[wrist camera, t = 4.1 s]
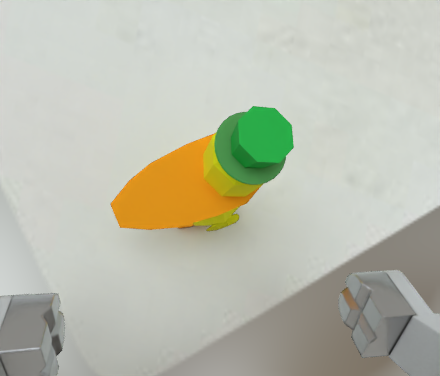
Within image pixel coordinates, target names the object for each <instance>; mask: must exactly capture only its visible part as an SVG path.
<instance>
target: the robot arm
mask: <svg viewBox="0 0 440 376" xmlns="http://www.w3.org/2000/svg"><path fill="white" fill-rule="evenodd" d="M345 283H346V285H347V286H348V287H347V288H346V289H344V290H343V291H342V292H341V294H340V297H339V300H338V304H339V312H340V315H341V318H342V320H343V322H344V324H346V325H347V326H348V327H350V328H351V329H352V330H353V331H352V336H351V338H352V340H353V341H354V343H355V345H356V347H357V349H358V351H359V353H360V355H361V357H362V358H366V357H377V356H389V358H390V359H391V360H393V361H394V362H395V363H396V364H397V365H398V366H399V367H400V368H401V369H403V370H404V371H405V372H406V373H407V374H408V375H409V376H440V314H439V313H438V314H434V313H433V312H432V311H431V309H430V308H429V307H428V305H427V304H426V303H425V302H424V300H423V299H422V298H421V296H420V295H419V294H418V292H417V291H416V290H415V288H414V287H413V286H412V284H411V283H410V282H409V281H408V279H407V278H406V277H405V275H404V274H403V273H402V272H401V271H399V270H388V271H371V272H359V273H351V274H350V275H348V276H347V279H346V281H345ZM59 307H60V298H59V295H58V294H57V293H50V294H30V295H29V294H27V295H11V296H10V295H8V296H0V376H57V374H58V369H59V365H58V361H57V357H56V356H57V355H58V354H59V353H60V352H61V351H62V347H63V343H64V333H65V322H64V316H63V313H62V312H60V311H59Z"/></svg>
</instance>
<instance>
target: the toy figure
mask: <svg viewBox="0 0 440 376" xmlns="http://www.w3.org/2000/svg"><path fill="white" fill-rule="evenodd" d="M293 148H294V146H293V135H292V125H291V124H290V123H289V122H288V121H287V120H286V119H285V118H284V117H283V116H282V115H281V114H280V113H279V112H278V111H277V110H276V109H275V108H266V107H256V106H253V107H252V108H251V109H250V110H249V111H248V112H241V113H236V114H234V115H232V116H230V117H228V118H227V119H226V120H225V121H223V123H222V124H221V125H220V127H219V128H218V130H217V132H216V133H215V134H212V135H209V136H207V137H204V138H202V139H199V140H196V141H194V142H191V143H189V144H186V145H184V146H182V147H180V148H178V149H177V150H175V151H173V152H171V153H169V154H167V155H165V156H163V157H161V158H160V159H158V160H156V161H154V162H152V163H150V164H149V165H148V166H147V167H145V168H144V169H143V170H142V171H140V172H139V173H138V174H137V175H136V176H134V177H133V178H132V179H131V180H129V182H128V183H127V184H126V185H125V187H124V188H123V189H122V190H121V192H120V193H119V194H118V195H117V196H116V198H115V199H114V200H113V201H112V203H111V207H112V209H113V212H114V214H115V216H116V219H117V221H118V224H119V226H120V228H134V229H148V230H152V229H164V228H176V227H178V228H185V227H191V226H193V225H195V226H207V225H212V226H211V227H209V228H208V229H207V230H206V231H213V230H218V229H221V228H223V227H226V226H229V225H231V224H234V223H236V222H237V221H238V219H239V215H238V214H233V213H234V212H235V211H236V210H237V209H238V208H239V207H240V206H242V205H244V204H246V203H247V202H248V201H249V200H250V199H251V198H252V196H253V195H254V194H255V193H256V192H257V190H258V189H259V188H260V187H261V186H262V185H263V184H264V183H267V182H268V181H270V180H272V179H274V178H275V177H276V176H277V175H278V174H279V173H280V171H281V170H282V168H283V166H284V163H285V160H286V155H287V154H288V153H289V152H290V151H291V150H292V149H293ZM232 214H233V215H232Z"/></svg>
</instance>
